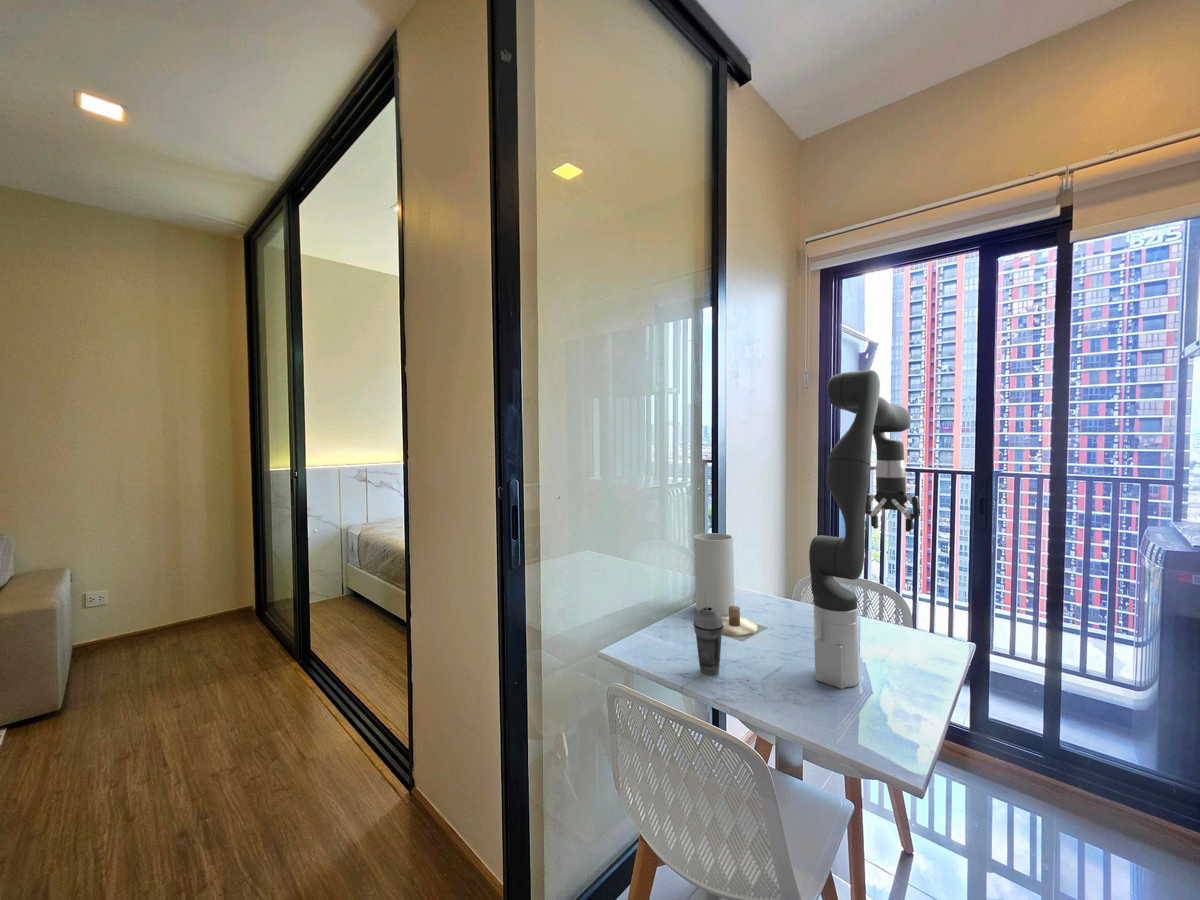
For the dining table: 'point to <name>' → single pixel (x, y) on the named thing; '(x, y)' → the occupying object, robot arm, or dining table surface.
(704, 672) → the beverage cup
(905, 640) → the dining table surface
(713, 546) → the cylinder vase
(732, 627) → the lid
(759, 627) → the mat
